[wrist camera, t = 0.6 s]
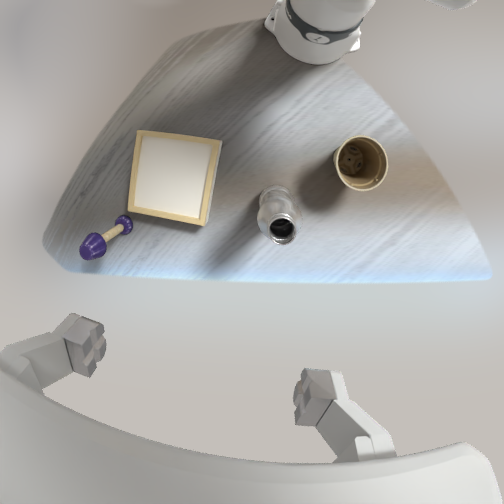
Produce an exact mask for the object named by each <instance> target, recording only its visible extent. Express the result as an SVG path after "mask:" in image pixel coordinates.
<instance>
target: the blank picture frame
mask: <svg viewBox="0 0 504 504" xmlns="http://www.w3.org/2000/svg"><path fill="white" fill-rule="evenodd" d="M222 143H223V141H221V140H215V139H209V138H203V137H196V136H189V135H181V134H174V133H165V132H156V131H146V130H137V135H136V141H135V148H134V155H133V163H132V171H131V180H130V189H129V200H128V211H131V212H136V213H141V214H146V215H152V216H157V217H162V218H167V219H172V220H177V221H182V222H187V223H192V224H196V225H201V226H205V224H206V223H207V221H208V218H209V212H210V206H211V201H212V195H213V189H214V184H215V178H216V173H217V168H218V163H219V157H220V152H221V147H222Z"/></svg>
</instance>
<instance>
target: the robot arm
mask: <svg viewBox="0 0 504 504" xmlns="http://www.w3.org/2000/svg"><path fill="white" fill-rule="evenodd" d="M426 1H428V2H431V3H433V4H436V5H438V6H441V7H443V8H446V9H448V10H458V9H463V8H466V7H468V6H470V5H472V4H474V3H475V2H476V1H477V0H426ZM374 3H375V0H277V1H276V3H275V5H274V6H273V8H272V10H271V12H270V13H269V15H268V17H267V18H266V20H265V23H264V26H265V27H266V28H267V29H268V30H269V31H270V32H271V33H273V34H274V35H275V37H276V39H277V41H278V42H279V44H280V46H281V47H282V48H283V49H284V51H286V52H287V53H288V54H289V55H290V56H292V57H293V58H295V59H297V60H299V61H302V62H305V63H309V64H327V63H331V62H334V61H336V60H338V59H339V58H340V57H342V56H343V55H344V54H346V53H351V52H355V51H357V50H358V49H359V48H360V40H359V37H360V35H361V32H360V27H359V26H360V25H361V23H362V21H363V17H364V15H365V14H366V13H367V12H368V11H369V10H370V8H371V7H372V6H373V5H374ZM271 19H274V21H273V20H271ZM103 333H104V326H103V324H101V323H99V322H96V321H93V320H91V319H88V318H86V317H83V316H80V315H77V314H75V313H71V314H69V316H68V317H67V318H66V319H65V320H64V321H63V322H62V323H61V324H60V325H59V326H58V327H57V328H56V329H55V330H54V331H53V332H52V333H50V332H48V333H45V334H42V335H39V336H35V337H32V338H29V339H26V340H23V341H20V342H16V343H13V344H10V345H7V346H6V347H5V348H4V349H3V350H2V351H1V352H0V504H503V502H502V498H501V494H500V491H499V487H498V483H497V480H496V477H495V474H494V472H493V469H492V466H491V464H490V462H489V460H488V459H487V457H486V456H484V455H483V454H482V453H481V452H480V451H478V450H477V449H476V448H474V447H473V446H472V445H470V444H468V443H466V442H459V443H455V444H451V445H448V446H444V447H441V448H436V449H432V450H428V451H424V452H420V453H414V454H409V455H404V456H398V457H397V455H396V452H395V448H394V445H393V442H392V439H391V436H390V433H389V432H387V431H386V430H385V429H384V428H383V427H382V426H380V425H379V424H378V423H377V422H376V421H375V420H374V419H372V417H371V416H369V415H368V414H367V413H366V412H365V411H364V410H363V409H362V408H360V407H359V406H358V405H357V404H356V403H355V402H354V401H353V400H349V396H348V393H347V389H346V386H345V383H344V379H343V376H342V373H341V372H340V371H331V370H318V369H308V368H304V370H303V371H302V373H301V380H300V381H298V382H297V384H296V386H295V390H294V396H293V402H294V405H295V406H296V407H297V408H296V410H295V412H294V414H295V425H302V426H315V427H316V429H317V430H318V432H319V433H320V434H321V435H322V437H323V438H324V440H325V441H326V442H327V443H328V445H329V446H330V447H331V449H332V450H333V451H334V453H335V454H336V455H337V456H338V458H337V459H336V460H335V461H334V462H333V463H318V464H317V463H316V464H315V463H313V464H312V463H311V464H309V463H277V462H264V461H254V460H244V459H237V458H230V457H223V456H217V455H212V454H206V453H200V452H196V451H191V450H187V449H183V448H178V447H174V446H171V445H166V444H162V443H159V442H155V441H152V440H149V439H145V438H143V437H139V436H136V435H133V434H130V433H127V432H125V431H122V430H119V429H116V428H114V427H111V426H108V425H106V424H103V423H101V422H98V421H96V420H94V419H91V418H89V417H87V416H85V415H82V414H80V413H78V412H76V411H74V410H72V409H69V408H67V407H65V406H63V405H61V404H59V403H58V402H55V401H54V400H52V399H50V398H48V397H46V396H45V395H44V393H43V391H42V389H43V388H45V387H47V386H49V385H51V384H53V383H54V382H56V381H58V380H60V379H62V378H63V377H65V376H67V375H69V374H71V373H72V372H73V371H74V372H76V373H79V374H82V375H84V376H87V377H89V378H90V377H91V375H92V374H93V372H94V371H95V369H96V362H98V361H101V359H102V358H103V356H104V354H105V351H106V340H105V338H104V337H103V335H102V334H103Z"/></svg>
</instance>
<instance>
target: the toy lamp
mask: <svg viewBox="0 0 504 504" xmlns="http://www.w3.org/2000/svg"><path fill="white" fill-rule="evenodd" d="M132 228H133V223H132V221H131V219H130V218H129V217H128V216H125V215H122V216H120V217H118V219H117V220H116V223H115V227H113V228H111V229H110V230H108V231H107V232H106V233H104V234H102V235H100V234H98V233H91V234H89V235H88V236H87V237H86V238H85V240H84V241H83V243H82V244H81V246H80V249H79V252H80V255H81V257H82V258H83V259H85V260H92V259H96V258H99V257H102V256H103V255H104V254H105V252H106V247H107V245H106V242H108V241H109V240H110V239H112V238H113V237H115V236H116V235H117V234H119V233H120V234H128V233H130V232H131V231H132Z"/></svg>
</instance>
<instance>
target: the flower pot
mask: <svg viewBox="0 0 504 504" xmlns="http://www.w3.org/2000/svg"><path fill="white" fill-rule="evenodd" d="M351 147H353V148H355V149H356V151H354V150H353V149H351ZM348 159H350V161H349V160H348ZM333 161H334V165H335V167H336V170H337V173H338V175H339V177H340V179H341V180H342V181H343V183H344V184H345V185H347V186H348V187H350V188H351V189H354V190H357V191H369V190H372V189H374V188H376V187H377V186H378V185H380V184H381V183H382V181H383V180H384V178H385V176H386V174H387V170H388V158H387V154H386V152H385V150H384V148H383V147H382V145H381V144H380V143H379V142H378V141H376V140H375V139H373V138H371V137H368V136H364V135H358V136H353V137H351V138H349V139H347V140H346V141H345V142H344V143H343V144H342V145H341V146H340V147H338V148H337V150H336V151H335V153H334V157H333ZM359 162H360V163H361V165H360V166H359V168H357V166H358V163H359ZM342 169H344V170H345V171H346V172H344V171H342Z"/></svg>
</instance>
